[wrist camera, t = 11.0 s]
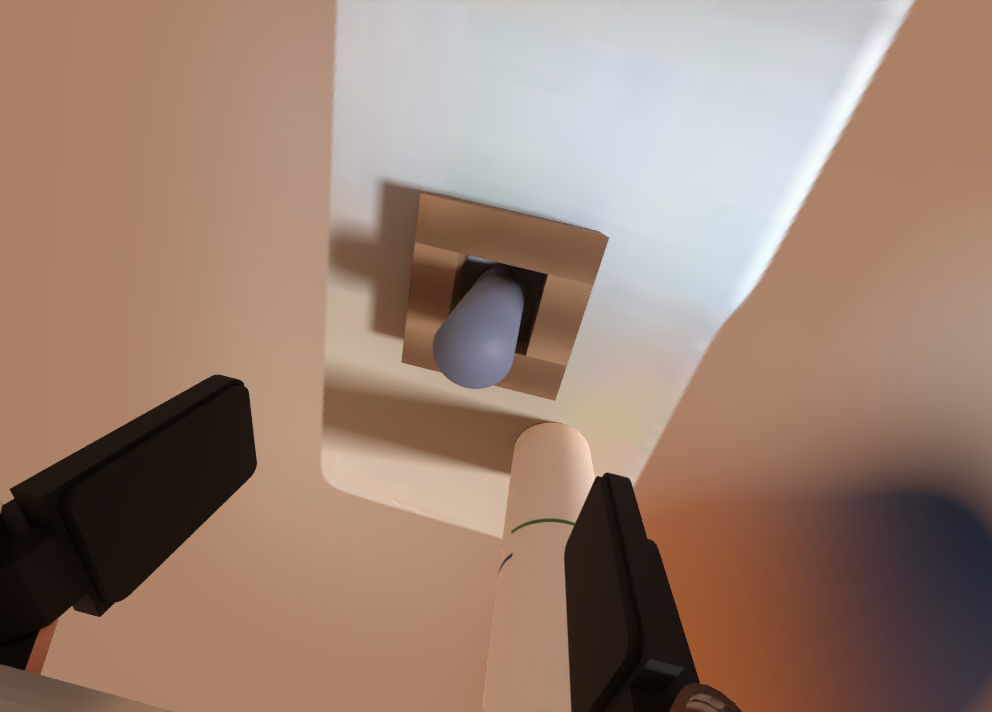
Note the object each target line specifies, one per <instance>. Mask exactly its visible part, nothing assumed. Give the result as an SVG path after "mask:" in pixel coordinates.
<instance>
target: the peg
mask: <svg viewBox="0 0 992 712" xmlns="http://www.w3.org/2000/svg"><path fill="white" fill-rule="evenodd" d="M525 296H526V288H525V284H524V282H523V280H522V278H521V277H520V276H519V274H518V273H516V272H515V271H514V270H512V269H510V268H507V267H493V268H490V269H488V270H487V271H485V272H484V273H483V274H482V275H481V276H480V277H479V279H478V280H477V281H476V282H475V284H474V285H473V286H472V287H471V289H470V290H469V291H468V292H467V294H466V295H465V296H464V297H463V299H462V300H461V301H460V302H459V304H458V305H457V306H456V307H455V309H454V310H453V311H452V312H451V314H450V315H449V316H448V317H447V319H446V320H445V321H444V322H443V324H442V325H441V326H440V328H439V329H438V330H437V332H436V334H435V337H434V341H433V355H434V359H435V362H436V364H437V366H438V368H439V369H440V371H441V372H442V373H443V374H444V375H445V376H446V377H447V378H448V379H449V380H451V381H452V382H454V383H455V384H458V385H460V386H463V387H466V388H472V389H481V388H487V387H490V386H492V385H495V384H496V383H498V382H500V381H501V380H502V379H503V378H504V377H505V376H506V375H507V373H508V372H509V370H510V368H511V366H512V363H513V358H514V353H515V348H516V343H517V338H518V332H519V327H520V322H521V317H522V312H523V307H524V301H525Z"/></svg>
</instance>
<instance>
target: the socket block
mask: <svg viewBox="0 0 992 712" xmlns="http://www.w3.org/2000/svg"><path fill="white" fill-rule="evenodd" d="M608 239H609V237H607V236H605V235H604V234H602V233H601V232H598V231H594V230H590V229H585V228H581V227H577V226H573V225H568V224H564V223H560V222H556V221H551V220H547V219H543V218H539V217H534V216H530V215H526V214H522V213H517V212H513V211H509V210H505V209H500V208H496V207H492V206H488V205H483V204H479V203H475V202H471V201H466V200H462V199H458V198H454V197H449V196H445V195H441V194H428V193H420V199H419V208H418V217H417V226H416V235H415V244H414V253H413V262H412V272H411V281H410V290H409V299H408V308H407V317H406V326H405V335H404V344H403V354H402V363H406V364H410V365H414V366H418V367H422V368H426V369H430V370H434V371H438V372H441V371H440V369H439V368H438V366H437V364H436V362H435V359H434V355H433V341H434V337H435V334H436V332H437V330H438V329H439V328H440V326H441V325H442V324H443V322H444V321H445V320H446V319H447V317H448V316H449V315H450V314H451V312H452V311H453V310H454V309H455V307H456V306H457V305H458V304H459V302H460V301H461V297H462V291H463V285H464V279H465V274H466V268H467V262H468V256H469V255H470V256H474V257H478V258H482V259H486V260H491V261H495V262H499V263H503V264H507V265H511V266H516V267H520V268H524V269H528V270H532V271H537V272H541V273H545V276H544V280H543V284H542V287H541V291H540V295H539V298H538V302H537V306H536V310H535V313H534V317H533V321H532V324H531V328H530V332H529V336H525V335H521V334H518V338H517V343H516V348H515V353H514V358H513V363H512V366H511V368H510V370H509V372H508V373H507V375H506V376H505V377H504V378H503V379H502V380H501V381H500V382H498V383H496V384H495V385H494V386H498V387H502V388H506V389H510V390H514V391H518V392H523V393H527V394H531V395H535V396H539V397H543V398H547V399H551V400H555V399H556V396H557V393H558V390H559V387H560V384H561V381H562V378H563V375H564V372H565V369H566V366H567V363H568V360H569V357H570V354H571V351H572V348H573V345H574V342H575V339H576V336H577V333H578V330H579V327H580V324H581V321H582V318H583V315H584V312H585V309H586V306H587V303H588V300H589V297H590V294H591V291H592V288H593V285H594V282H595V279H596V276H597V273H598V270H599V267H600V263H601V260H602V257H603V254H604V251H605V248H606V245H607V242H608Z"/></svg>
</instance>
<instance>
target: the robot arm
mask: <svg viewBox="0 0 992 712" xmlns="http://www.w3.org/2000/svg"><path fill="white" fill-rule="evenodd" d="M256 466H257V460H256V451H255V443H254V435H253V425H252V417H251V408H250V399H249V391H248V389H247V388H246V387H245V386H244V383H243V382H242V381H241V380H238V379H234V378H230V377H227V376H223V375H213V376H211V377H209V378H207V379H205V380H204V381H202V382H200V383H198V384H196V385H195V386H193V387H191V388H189V389H188V390H186V391H184V392H182V393H180V394H179V395H177V396H176V397H173V398H171V399H170V400H168V401H166V402H164V403H163V404H161V405H159V406H157V407H155V408H154V409H152V410H150V411H148V412H147V413H145V414H143V415H141V416H139V417H138V418H136V419H134V420H132V421H130V422H129V423H127V424H125V425H123V426H121V427H120V428H118V429H116V430H114V431H113V432H111V433H109V434H107V435H105V436H104V437H102V438H100V439H98V440H96V441H95V442H93V443H91V444H89V445H88V446H86V447H84V448H82V449H80V450H79V451H77V452H75V453H73V454H72V455H70V456H68V457H66V458H64V459H63V460H61V461H59V462H57V463H56V464H54V465H52V466H50V467H48V468H46V469H45V470H43V471H41V472H39V473H38V474H36V475H34V476H32V477H30V478H29V479H27V480H25V481H23V482H22V483H20V484H18V485H16V486H14V487H13V488H11V489H10V491H11V493H12V494H13V496H14V498H15V499H13V500H11V501H10V502H8V503H6V504H4V505H3V504H2V502H1V500H0V712H174V711H170V710H167V709H163V708H159V707H156V706H152V705H148V704H145V703H141V702H138V701H134V700H130V699H126V698H123V697H119V696H116V695H112V694H108V693H104V692H101V691H97V690H93V689H89V688H86V687H82V686H79V685H75V684H71V683H67V682H64V681H60V680H57V679H53V678H49V677H46V676H42V675H40V674H41V671H42V668H43V665H44V661H45V659H46V656H47V653H48V650H49V647H50V644H51V641H52V637H53V635H54V631H55V629H56V625H57V622H58V619H59V617H60V616H61V615H62V614H63V613H64V612H65V611H67V610H68V609H69V608H70V607H71V606H73V607H74V610H76V611H79V612H83V613H87V614H90V615H94V616H98V617H100V616H102V615H103V614H104V613H105V612H106V611H107V610H108V609H109V608H110V607H111V606H112V605H113V604H114V603H115V602H119V601H122V600H123V599H125V598H126V597H128V596H129V595H130V594H131V593H132V592H133V591H134V590H135V589H136V588H137V587H138V586H139V585H140V584H142V582H144V581H145V580H146V579H147V578H148V577H149V576H150V575H151V574H152V573H153V572H154V571H155V570H156V569H157V568H158V567H159V566H160V565H161V564H162V563H163V562H164V561H165V560H166V559H167V558H168V557H169V556H170V555H171V554H172V553H173V552H174V551H175V550H176V549H177V548H178V547H179V546H180V545H181V544H183V543H184V541H186V539H188V538H189V537H190V536H191V535H192V534H193V533H194V532H195V531H196V530H197V529H198V528H199V527H200V526H201V525H202V524H203V523H204V522H205V521H206V520H207V519H208V518H209V517H210V516H211V515H212V514H213V513H214V512H215V511H216V510H217V509H218V508H219V507H220V506H222V505H223V503H225V502H226V501H227V500H228V499H229V498H230V497H231V496H232V495H233V494H234V493H235V492H236V491H237V490H238V489H239V488H240V487H241V486H242V485H243V484H244V483H245V482H246V481H247V480H248V479H249V478H250V477H251V476H252V475H253V473H254V471H255V469H256ZM564 568H565V589H566V610H567V632H568V653H569V674H570V696H571V712H742V711H741V710H740V708H739V707H738V706H737V705H736V704H735V703H734V702H733V701H732V700H730V699H729V698H728V697H727V696H726V695H724V694H723V693H722V692H720V691H718V690H717V689H715V688H713V687H711V686H709V685H706V684H700V682H699V679H698V676H697V672H696V669H695V666H694V662H693V659H692V656H691V653H690V649H689V646H688V643H687V640H686V637H685V633H684V630H683V627H682V624H681V621H680V617H679V614H678V611H677V608H676V604H675V601H674V598H673V595H672V591H671V588H670V585H669V582H668V579H667V575H666V572H665V569H664V566H663V562H662V559H661V556H660V553H659V550H658V548H657V545H656V544H655V543H654V542H653V540H650V539H647V536H646V532H645V529H644V526H643V522H642V518H641V515H640V511H639V508H638V504H637V501H636V498H635V494H634V490H633V487H632V484H631V481H630V479H629V478H627V477H623V476H619V475H615V474H611V473H605V474H604V475H603V477H599V476H597V477H596V478H595V480H594V482H593V485H592V487H591V489H590V491H589V494H588V496H587V498H586V500H585V503H584V505H583V507H582V509H581V511H580V514H579V516H578V518H577V520H576V523H575V525H574V527H573V529H572V532H571V534H570V536H569V538H568V541H567V543H566V546H565V552H564Z"/></svg>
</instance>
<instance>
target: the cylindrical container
mask: <svg viewBox="0 0 992 712" xmlns="http://www.w3.org/2000/svg"><path fill="white" fill-rule="evenodd" d="M594 480H595V477H594V471H593V466H592V460H591V455H590V449H589V446H588V443H587V441H586V440H585V438H584V437H583V436H582V435H581V434H580V433H579V432H578V431H577V430H575V429H573V428H572V427H569V426H567V425H564V424H560V423H550V422H549V423H541V424H537V425H534V426H532V427H530V428H528V429H527V430H525V431H524V432H523V433H522V434H521V435H520V436H519V437H518V439H517V441H516V443H515V446H514V452H513V460H512V468H511V477H510V485H509V493H508V501H507V509H506V517H505V525H504V533H503V541H502V549H501V557H500V565H499V576H498V582H497V590H496V598H495V606H494V615H493V622H492V631H491V639H490V647H489V655H488V664H487V672H486V680H485V688H484V696H483V704H482V712H571V696H570V674H569V653H568V632H567V610H566V589H565V568H564V552H565V546H566V543H567V541H568V538H569V536H570V534H571V532H572V529H573V527H574V525H575V523H576V520H577V518H578V516H579V514H580V511H581V509H582V507H583V505H584V503H585V500H586V498H587V496H588V494H589V491H590V489H591V487H592V485H593V482H594Z"/></svg>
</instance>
